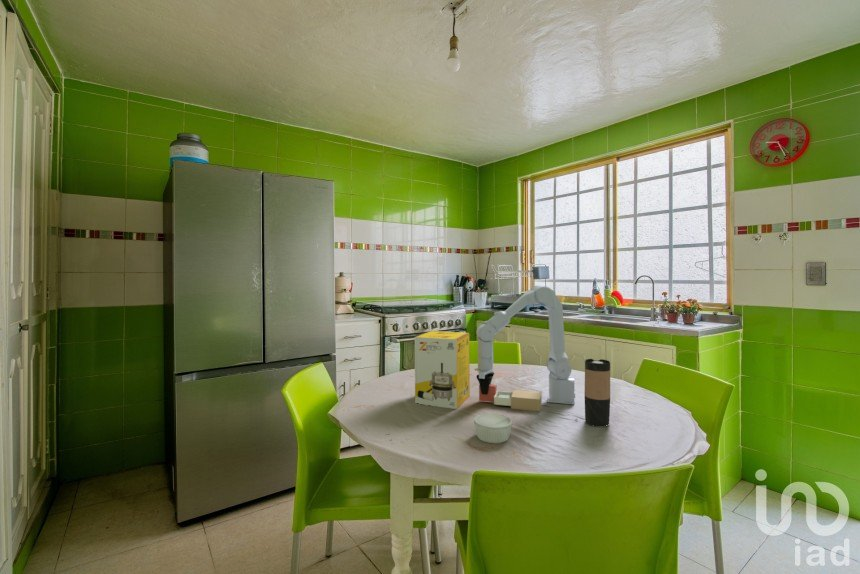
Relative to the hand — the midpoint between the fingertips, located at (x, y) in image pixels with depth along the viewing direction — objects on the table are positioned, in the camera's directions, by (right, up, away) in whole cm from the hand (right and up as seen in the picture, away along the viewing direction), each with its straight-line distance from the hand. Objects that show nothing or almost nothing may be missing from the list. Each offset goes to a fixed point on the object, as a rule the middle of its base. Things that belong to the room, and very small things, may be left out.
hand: (485, 393), depth 151 cm
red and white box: (+5, -3, -2) cm, 6 cm away
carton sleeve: (+14, -4, -5) cm, 15 cm away
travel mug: (+33, -4, -21) cm, 39 cm away
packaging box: (-16, -4, +3) cm, 17 cm away
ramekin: (-2, -5, -32) cm, 32 cm away
